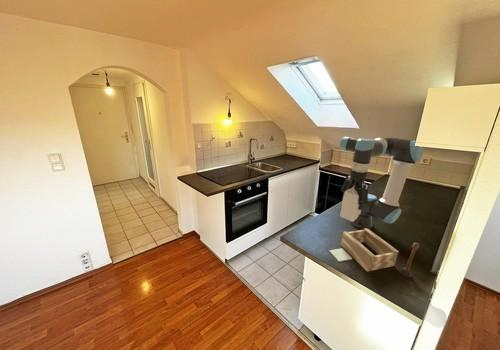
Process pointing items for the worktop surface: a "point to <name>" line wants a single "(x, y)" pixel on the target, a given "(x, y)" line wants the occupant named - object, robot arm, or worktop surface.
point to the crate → (363, 255)
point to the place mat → (340, 254)
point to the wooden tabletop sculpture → (409, 262)
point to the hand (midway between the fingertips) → (350, 209)
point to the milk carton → (350, 204)
